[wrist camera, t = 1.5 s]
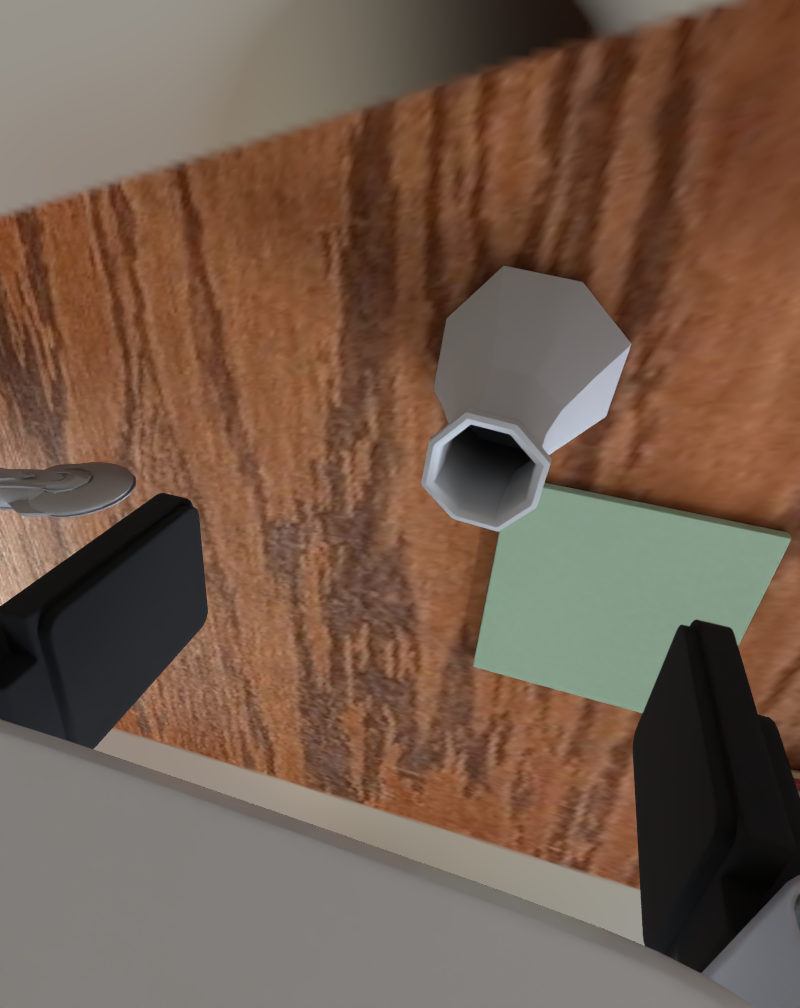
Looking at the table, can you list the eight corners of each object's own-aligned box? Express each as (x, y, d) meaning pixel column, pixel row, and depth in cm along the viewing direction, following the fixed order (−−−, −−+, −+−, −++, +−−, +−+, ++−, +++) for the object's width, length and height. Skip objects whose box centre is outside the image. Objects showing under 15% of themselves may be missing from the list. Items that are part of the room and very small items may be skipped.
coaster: (510, 474, 26) (509, 480, 26) (788, 532, 24) (792, 538, 23) (474, 660, 32) (472, 666, 31) (696, 720, 29) (697, 728, 29)
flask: (496, 228, 22) (426, 267, 13) (669, 333, 22) (707, 439, 13) (407, 392, 26) (309, 502, 17) (552, 481, 26) (525, 635, 17)
